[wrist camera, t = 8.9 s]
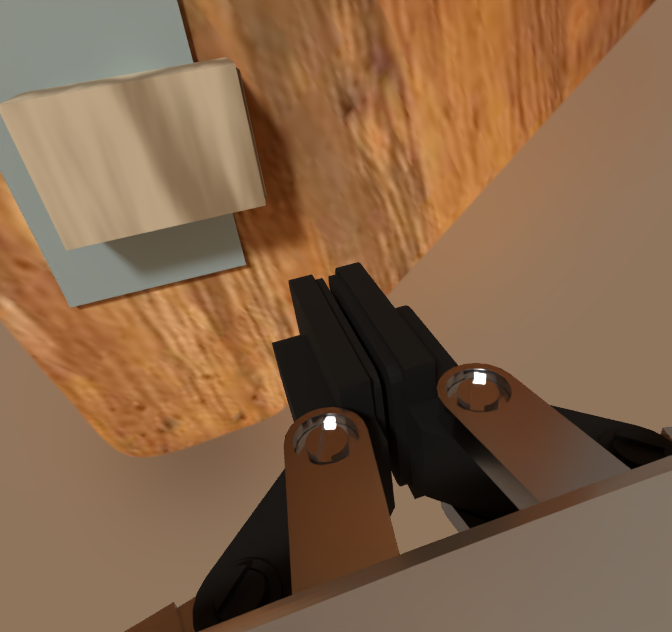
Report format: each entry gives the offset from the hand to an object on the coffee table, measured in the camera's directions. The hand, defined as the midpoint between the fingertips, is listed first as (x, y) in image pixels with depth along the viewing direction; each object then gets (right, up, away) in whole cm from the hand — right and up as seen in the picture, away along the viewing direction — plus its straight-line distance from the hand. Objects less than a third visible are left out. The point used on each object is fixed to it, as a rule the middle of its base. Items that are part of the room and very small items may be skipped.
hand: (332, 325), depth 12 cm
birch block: (-5, +12, +19) cm, 23 cm away
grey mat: (-14, +11, +20) cm, 27 cm away
